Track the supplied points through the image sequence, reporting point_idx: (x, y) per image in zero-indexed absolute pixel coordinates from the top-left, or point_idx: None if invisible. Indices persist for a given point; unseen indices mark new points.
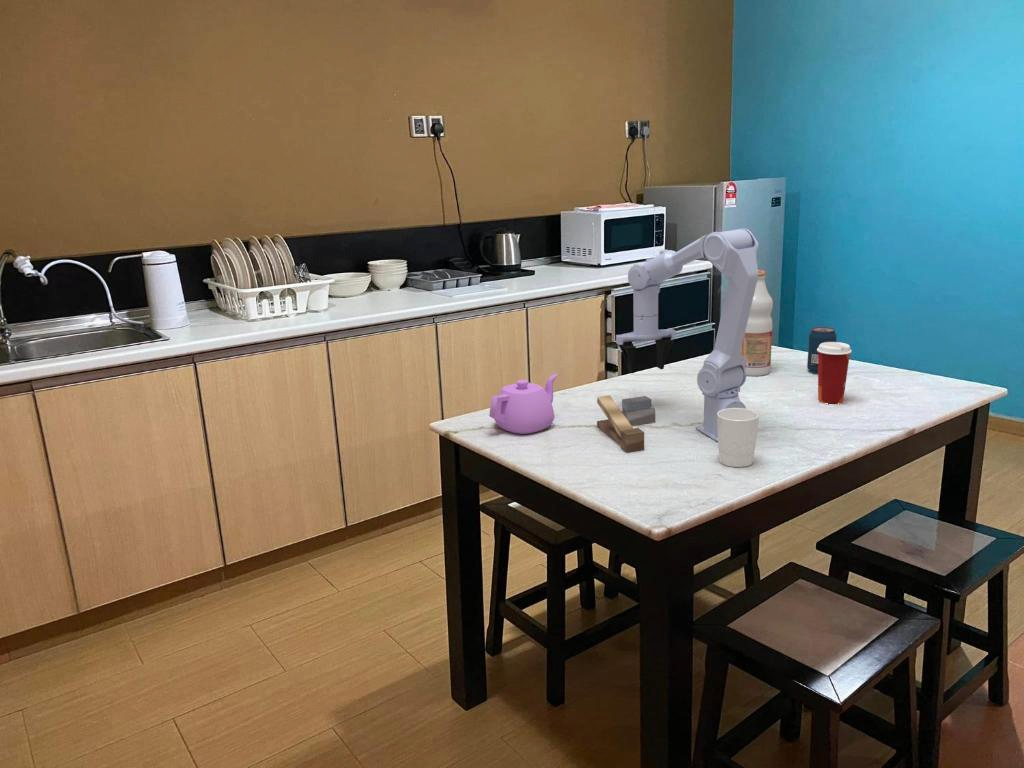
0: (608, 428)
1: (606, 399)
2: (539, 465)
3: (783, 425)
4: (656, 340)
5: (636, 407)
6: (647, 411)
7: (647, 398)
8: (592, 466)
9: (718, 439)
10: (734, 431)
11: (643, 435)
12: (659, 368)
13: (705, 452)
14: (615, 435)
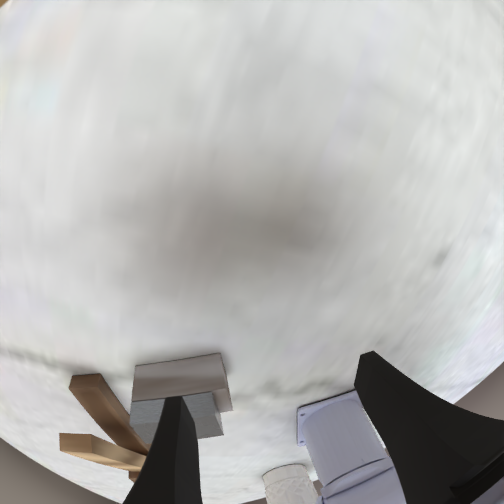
0: (101, 424)
1: (85, 455)
2: (26, 449)
3: (426, 382)
4: (459, 475)
5: None
6: None
7: (213, 429)
8: (92, 469)
9: (267, 502)
10: None
11: None
12: (356, 375)
13: (260, 463)
14: (118, 445)
